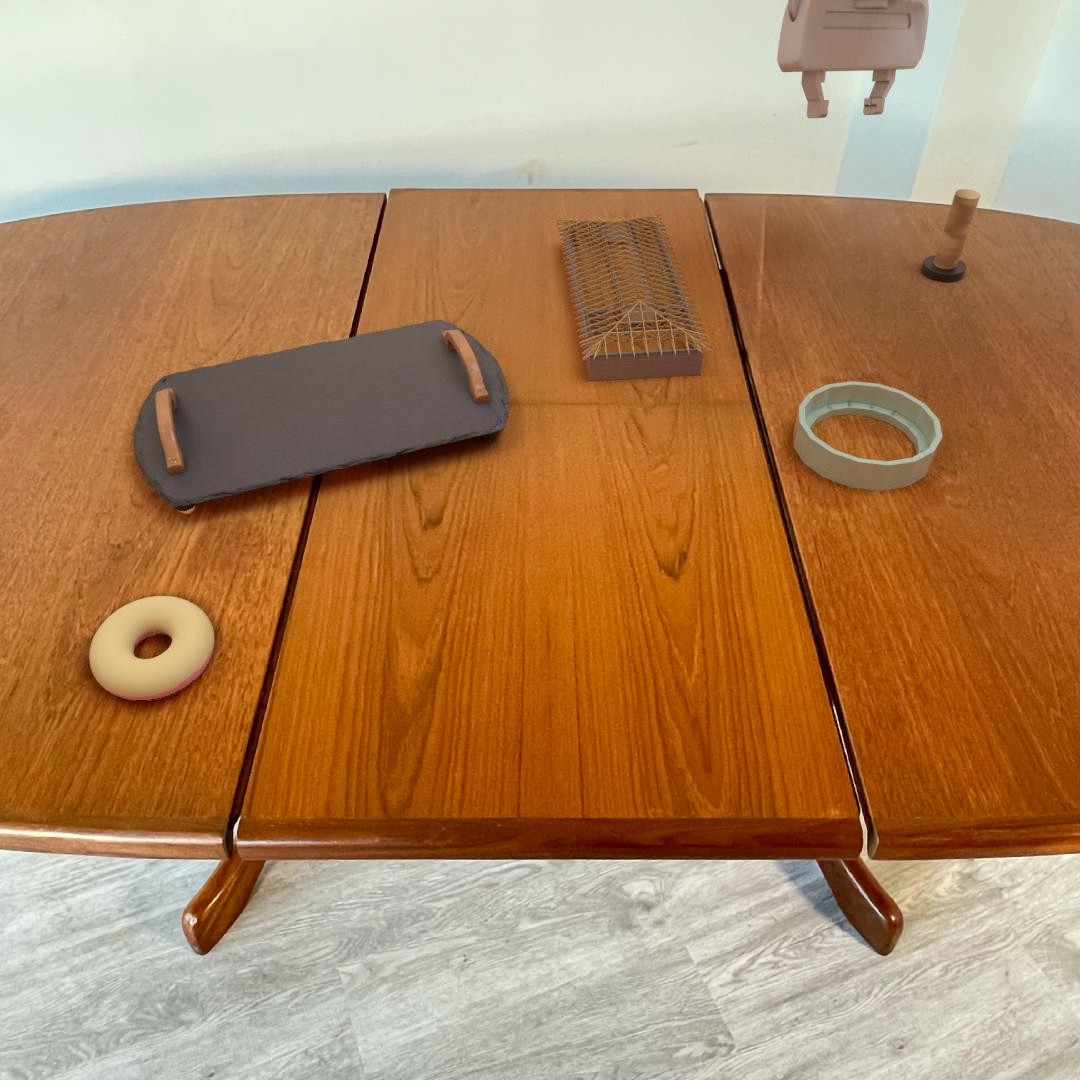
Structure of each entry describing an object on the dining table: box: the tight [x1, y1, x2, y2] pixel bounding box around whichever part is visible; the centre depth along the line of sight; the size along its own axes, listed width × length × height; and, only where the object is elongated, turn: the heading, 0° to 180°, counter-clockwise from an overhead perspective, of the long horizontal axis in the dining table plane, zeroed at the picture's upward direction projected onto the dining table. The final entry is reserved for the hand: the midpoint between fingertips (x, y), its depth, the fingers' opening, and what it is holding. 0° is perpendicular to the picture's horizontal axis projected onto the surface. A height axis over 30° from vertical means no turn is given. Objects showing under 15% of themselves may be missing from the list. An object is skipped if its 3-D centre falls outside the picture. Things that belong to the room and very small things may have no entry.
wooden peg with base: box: [920, 188, 981, 284], centre depth 109 cm, size 5×5×12 cm
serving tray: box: [132, 319, 510, 512], centre depth 92 cm, size 39×23×6 cm, turn 110°
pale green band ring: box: [792, 380, 943, 492], centre depth 86 cm, size 13×13×5 cm
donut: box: [88, 595, 216, 701], centre depth 71 cm, size 10×5×9 cm
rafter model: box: [555, 213, 714, 382], centre depth 109 cm, size 35×14×6 cm, turn 4°
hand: (845, 116), depth 101 cm, fingers open, 8 cm apart
